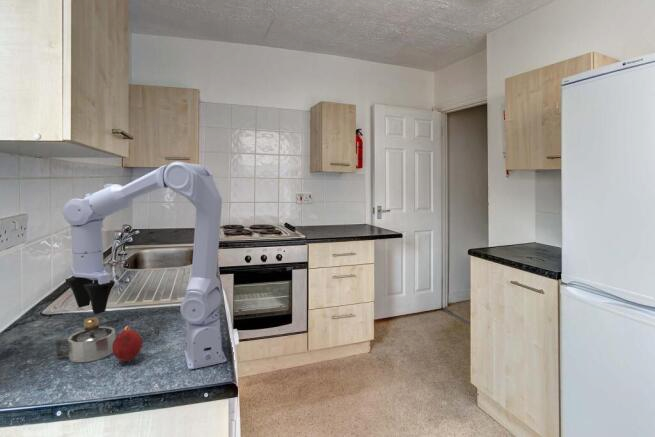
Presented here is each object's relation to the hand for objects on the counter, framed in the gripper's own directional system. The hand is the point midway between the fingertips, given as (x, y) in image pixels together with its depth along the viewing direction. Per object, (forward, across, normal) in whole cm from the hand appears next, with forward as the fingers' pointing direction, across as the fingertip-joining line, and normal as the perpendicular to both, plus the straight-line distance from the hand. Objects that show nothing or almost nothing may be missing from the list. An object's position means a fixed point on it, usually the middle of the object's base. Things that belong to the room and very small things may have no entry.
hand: (91, 309), depth 82 cm
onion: (+11, -11, -2) cm, 15 cm away
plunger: (+7, 0, 0) cm, 7 cm away
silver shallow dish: (+11, 0, +1) cm, 11 cm away
